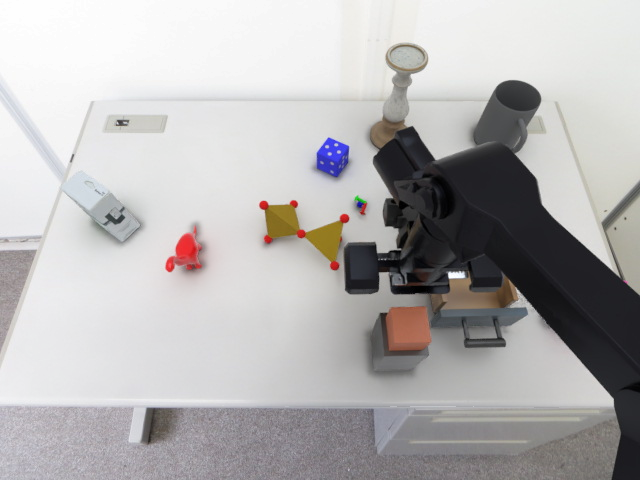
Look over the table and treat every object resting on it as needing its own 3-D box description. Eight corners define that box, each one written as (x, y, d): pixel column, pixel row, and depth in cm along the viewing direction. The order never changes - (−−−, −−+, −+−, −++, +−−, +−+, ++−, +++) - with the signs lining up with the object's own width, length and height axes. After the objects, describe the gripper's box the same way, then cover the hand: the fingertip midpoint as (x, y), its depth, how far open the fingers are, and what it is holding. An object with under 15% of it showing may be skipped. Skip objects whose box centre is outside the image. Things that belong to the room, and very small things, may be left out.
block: (423, 349, 50) (432, 342, 46) (388, 350, 50) (394, 343, 46) (418, 316, 52) (426, 306, 48) (385, 317, 52) (390, 306, 48)
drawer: (517, 351, 61) (536, 343, 56) (435, 353, 61) (446, 345, 56) (485, 229, 72) (499, 212, 66) (415, 231, 72) (423, 214, 66)
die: (348, 161, 81) (349, 145, 77) (337, 177, 79) (337, 162, 75) (328, 152, 82) (328, 136, 78) (316, 168, 80) (316, 152, 76)
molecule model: (285, 178, 78) (276, 152, 66) (368, 204, 76) (375, 182, 64) (257, 251, 75) (243, 237, 63) (343, 280, 73) (345, 271, 61)
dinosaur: (205, 224, 74) (185, 187, 63) (204, 296, 67) (181, 268, 56) (185, 227, 74) (161, 190, 63) (182, 299, 67) (154, 272, 56)
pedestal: (410, 370, 61) (429, 355, 50) (373, 371, 61) (384, 356, 50) (405, 333, 64) (422, 311, 53) (370, 334, 64) (379, 312, 53)
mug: (468, 124, 86) (488, 80, 75) (508, 122, 86) (533, 78, 75) (483, 172, 79) (507, 131, 69) (526, 170, 80) (557, 128, 69)
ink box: (93, 221, 75) (56, 186, 64) (113, 204, 77) (79, 167, 66) (122, 243, 72) (88, 211, 62) (142, 225, 74) (111, 190, 64)
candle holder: (403, 156, 82) (425, 77, 64) (365, 145, 83) (376, 65, 65) (413, 128, 85) (437, 46, 68) (376, 118, 87) (390, 35, 69)
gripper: (506, 175, 43) (462, 238, 57) (344, 178, 43) (339, 240, 57) (533, 265, 38) (477, 310, 52) (349, 268, 38) (342, 312, 52)
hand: (407, 289), depth 53 cm, fingers closed
